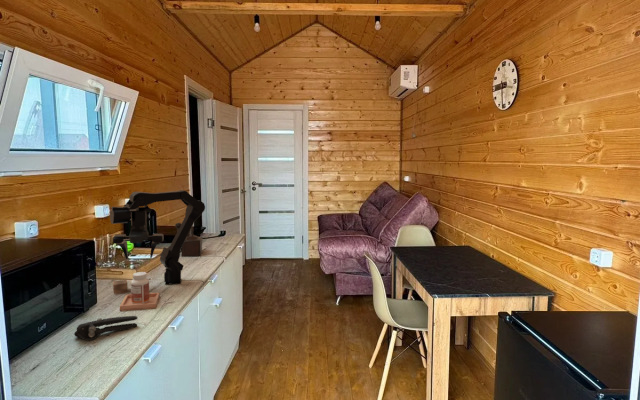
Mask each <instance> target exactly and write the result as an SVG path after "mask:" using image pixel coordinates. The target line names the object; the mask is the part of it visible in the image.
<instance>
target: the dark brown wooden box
mask: <svg viewBox="0 0 640 400" xmlns="http://www.w3.org/2000/svg"><path fill="white" fill-rule="evenodd" d="M181 224H182V222H176V223H175V224H174V227H175V228H176V231H177V232H178V230H179V228H180V226H181ZM189 232H191V233H190V234H189V235H187V237H186V239H185V241H184V243H183V245H182V247H181V257H182V258H185V257H186V258H187V257H189V258H193V257H198V258H199V256H200V257H202V256H201V255H202V254H203V236H197V235H195V234H194V226H192V227H191V229H190V231H189Z"/></svg>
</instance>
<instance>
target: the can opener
mask: <svg viewBox="0 0 640 400" xmlns="http://www.w3.org/2000/svg"><path fill="white" fill-rule="evenodd" d="M136 320H138V316H137V315H129V316H126V315H125V316H116V317H114V316H113V317H108V318H107V317H106V318H103V319H102V318H97V319H96V320H93V321H88V322H87V321H86V322H84V323H80V324H78V325H77V327H76V330H75V332H74V333H73V334H74V337H76V338H79V339H81V340H82V339H83V340H86V341H91V340H94V339H96V338H98V337H99V336H101V335H103V334H105V333H110V332H117V331H126V330H130V329H134V328H137V326H138V324H137V323H136V322H132V321H136ZM125 322H130V323H125ZM131 322H132V323H131ZM120 323H121V324H120ZM122 323H123V324H122ZM115 324H116V325H115ZM109 325H110V326H109ZM103 326H104V327H103ZM100 327H101V328H100Z"/></svg>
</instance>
